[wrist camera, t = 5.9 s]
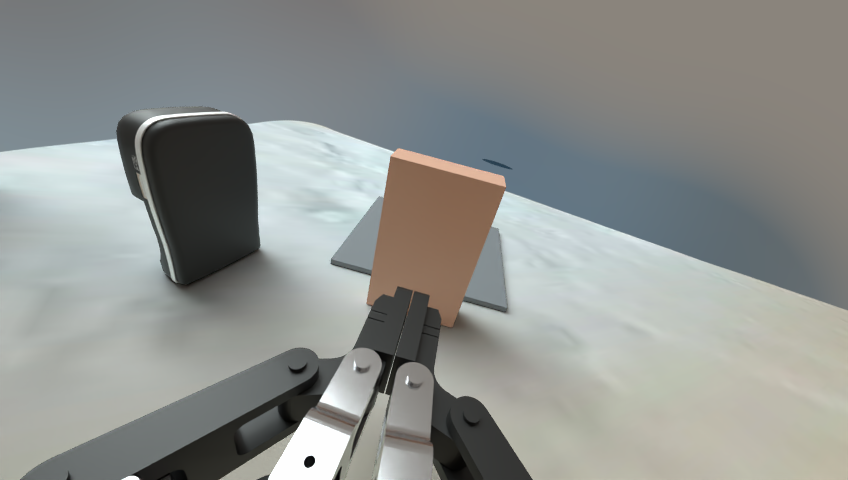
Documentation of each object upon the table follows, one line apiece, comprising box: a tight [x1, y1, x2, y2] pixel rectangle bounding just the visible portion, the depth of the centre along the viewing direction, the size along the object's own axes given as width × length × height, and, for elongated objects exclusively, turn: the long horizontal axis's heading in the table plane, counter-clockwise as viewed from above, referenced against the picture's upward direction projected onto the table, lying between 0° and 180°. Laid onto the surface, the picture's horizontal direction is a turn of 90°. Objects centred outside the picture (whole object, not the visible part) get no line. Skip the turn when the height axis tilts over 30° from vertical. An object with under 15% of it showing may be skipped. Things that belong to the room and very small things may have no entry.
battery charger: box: [116, 107, 260, 284], centre depth 22 cm, size 7×4×11 cm, turn 155°
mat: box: [331, 196, 507, 312], centre depth 34 cm, size 15×16×1 cm
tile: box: [367, 148, 506, 328], centre depth 22 cm, size 2×7×12 cm, turn 81°
